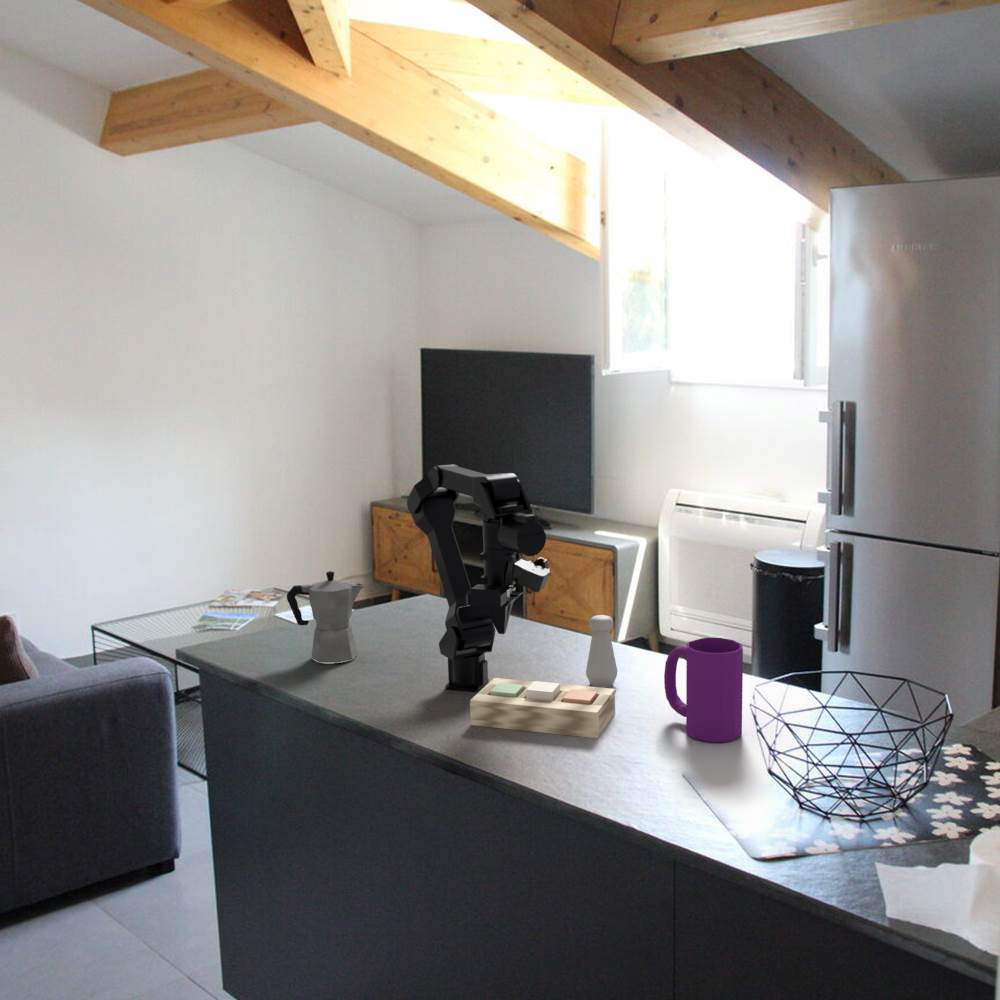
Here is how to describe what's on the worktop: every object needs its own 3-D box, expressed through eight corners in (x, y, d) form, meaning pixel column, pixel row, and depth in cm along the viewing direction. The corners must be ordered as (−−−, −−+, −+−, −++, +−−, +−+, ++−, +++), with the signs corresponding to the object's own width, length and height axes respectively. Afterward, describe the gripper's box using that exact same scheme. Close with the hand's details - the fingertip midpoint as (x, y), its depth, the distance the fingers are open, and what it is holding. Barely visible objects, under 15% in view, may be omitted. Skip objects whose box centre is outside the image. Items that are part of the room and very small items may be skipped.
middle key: (526, 708, 195) (526, 689, 195) (534, 700, 200) (534, 681, 199) (552, 711, 194) (552, 692, 193) (560, 702, 198) (560, 683, 198)
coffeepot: (364, 648, 240) (360, 564, 237) (369, 662, 231) (365, 574, 228) (289, 655, 237) (284, 569, 234) (291, 669, 228) (286, 580, 225)
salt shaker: (615, 690, 211) (615, 621, 208) (584, 689, 212) (583, 620, 210) (619, 680, 216) (618, 612, 214) (588, 679, 217) (587, 611, 215)
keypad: (470, 725, 195) (470, 700, 194) (494, 701, 206) (494, 677, 206) (597, 738, 188) (597, 712, 187) (615, 713, 199) (615, 688, 198)
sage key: (490, 710, 198) (489, 691, 197) (499, 701, 202) (498, 682, 201) (515, 712, 196) (515, 693, 196) (524, 703, 200) (524, 684, 200)
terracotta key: (563, 717, 193) (563, 698, 193) (571, 708, 198) (570, 689, 197) (590, 720, 192) (589, 700, 191) (597, 710, 196) (597, 691, 196)
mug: (715, 748, 182) (715, 657, 180) (646, 721, 195) (646, 635, 192) (754, 734, 188) (755, 645, 185) (685, 709, 200) (685, 625, 198)
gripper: (527, 560, 189) (529, 652, 191) (560, 537, 206) (561, 622, 209) (463, 556, 192) (466, 647, 195) (500, 535, 210) (503, 618, 212)
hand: (502, 633), depth 203 cm, fingers closed
